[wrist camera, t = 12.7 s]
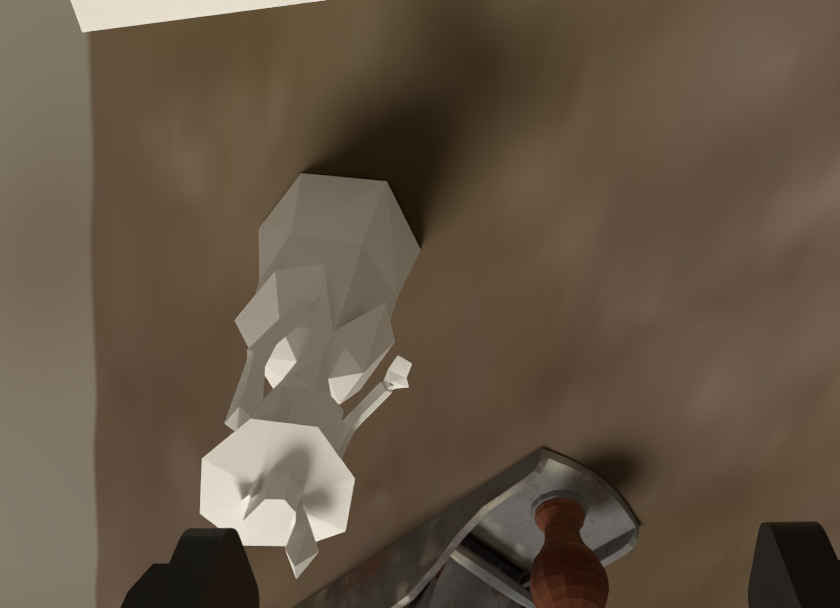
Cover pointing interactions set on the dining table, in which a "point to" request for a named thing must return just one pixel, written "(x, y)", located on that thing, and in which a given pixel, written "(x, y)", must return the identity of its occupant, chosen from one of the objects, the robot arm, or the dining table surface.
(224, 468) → the figurine
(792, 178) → the dining table surface
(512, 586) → the hand plane
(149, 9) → the socket holder
